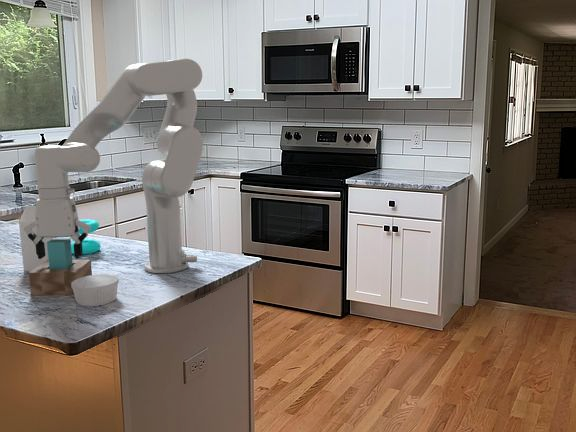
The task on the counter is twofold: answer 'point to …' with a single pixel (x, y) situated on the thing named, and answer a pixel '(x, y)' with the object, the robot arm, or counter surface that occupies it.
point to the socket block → (57, 278)
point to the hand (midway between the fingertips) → (60, 257)
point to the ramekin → (95, 289)
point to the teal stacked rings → (88, 244)
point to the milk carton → (30, 241)
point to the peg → (59, 253)
